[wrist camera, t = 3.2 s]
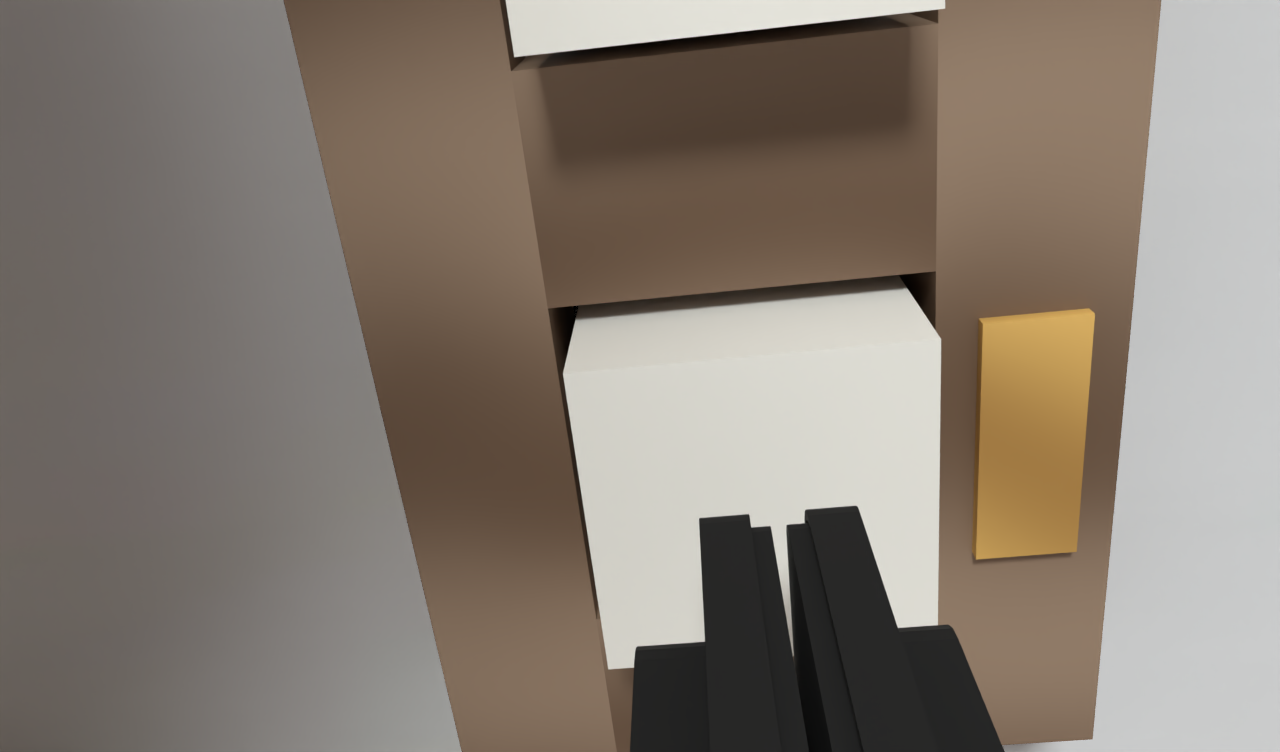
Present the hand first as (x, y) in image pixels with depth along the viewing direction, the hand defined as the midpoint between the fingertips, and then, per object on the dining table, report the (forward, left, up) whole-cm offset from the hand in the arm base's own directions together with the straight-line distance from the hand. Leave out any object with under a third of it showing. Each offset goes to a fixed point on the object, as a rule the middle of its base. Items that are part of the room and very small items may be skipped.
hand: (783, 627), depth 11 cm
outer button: (0, 0, -5) cm, 5 cm away
